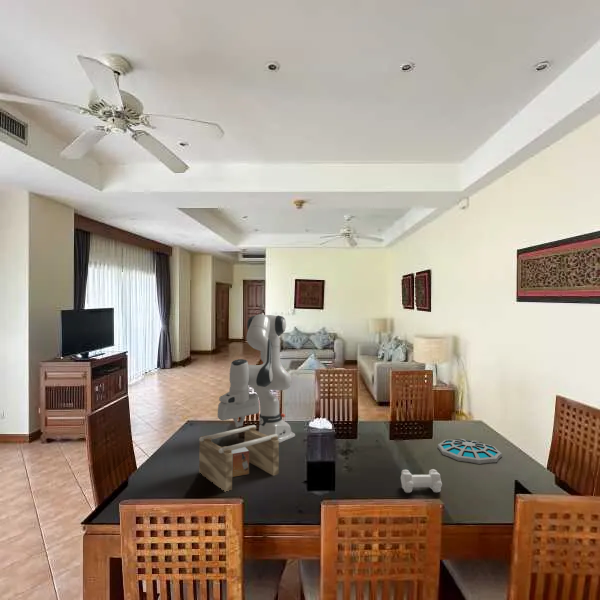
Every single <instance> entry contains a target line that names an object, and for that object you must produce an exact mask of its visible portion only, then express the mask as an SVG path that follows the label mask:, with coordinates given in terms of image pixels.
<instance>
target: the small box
mask: <svg viewBox="0 0 600 600" xmlns="http://www.w3.org/2000/svg"><path fill="white" fill-rule="evenodd" d="M231 453H232V478H234V477H239V476H245V475H249V474H250V462H249V450H248V449H247V448H246V447H243V448H239V449H236V450H232V451H231Z"/></svg>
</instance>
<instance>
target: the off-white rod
mask: <svg viewBox="0 0 600 600" xmlns="http://www.w3.org/2000/svg"><path fill="white" fill-rule="evenodd" d="M275 436H277V437H278V435H277V434H273V435H270V436H266V437H262V438H258V439H254V440H251V441H247V442H245V441H243V442H239V443H236V444H232V445H231V444H230V445H228V446H227V447H224V446H223V447H224V448H220V449H219V453H224V450H226V449H231V451H232V450H236V449H239V448H243V447H247V446H250V445H254V444H258V443H262V442H265V441H269V440H271V437H275Z"/></svg>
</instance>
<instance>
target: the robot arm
mask: <svg viewBox="0 0 600 600" xmlns="http://www.w3.org/2000/svg"><path fill="white" fill-rule="evenodd" d="M286 327H287V322H286V318H285V317H284V316H282V315H274V314H273V315H272V314H262V313H261V314H260V313H259V314H256V315H252V316H250V317H249V318H248V319H247V323H246V328H247V333H246V338H245V339H246V342H247V345H249V346H250V347H251V348H253V349H254V350H257V351H260V359H261V362H262V364H259V365H258V364H249V363H248V360H246V359H244V358H241V359H234V360H233V361H232V362H230V369H229V383H230V384H229V385H230V386H229V391H228V392H226V393H225V394H224V393H223V394H222V395H221V396H220V397H218V398H219V400H218V401H219V404H218V407H217V418H218V419H219V421H227V420H231V419H232V420H233V422H234V423H235V424H234V425H235V428H242V427H243V426H244V422H245V420H246V417H247V416H252V415H255V414H258V415H259V417H258V419H259V420H258V421H259V426H258V427H259V428H258V432H260V433H263V434H265V435H271V434H277V435H278V440H279V444H280V443H283V442H284V441H287V440H290V439H292V438H294V437H296V433H295V432H293V431H292V428H291V425H290V424H289V423H288V422H286V421H285V420H283V419H284V418H285V417H286V414H285V413H281V412H280V400H279V398H278V397H277V396H276V395H274V394H273V393H272V392H271V391H285V390H288V389H290V387H291V385H292V380H293V378H292V375H291V374H290V373H289V372H288V371H287V370H286V369H285V368H284V366H283V364H282V360H281V342H280V337H281V335H282V334H284V332H286ZM250 388H252V389H253V391H254V392H253V393H250ZM239 418H240V420H239ZM282 418H283V419H282Z"/></svg>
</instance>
